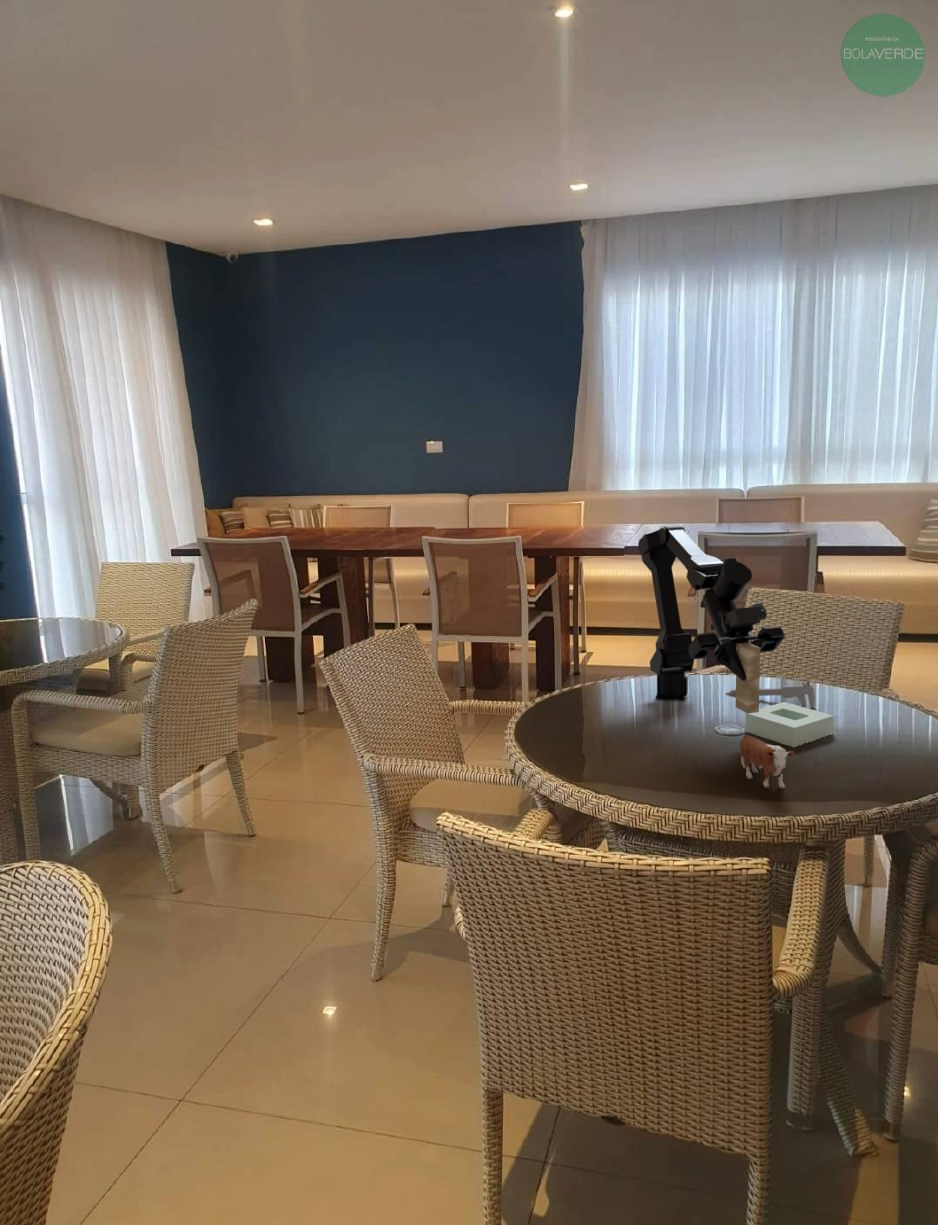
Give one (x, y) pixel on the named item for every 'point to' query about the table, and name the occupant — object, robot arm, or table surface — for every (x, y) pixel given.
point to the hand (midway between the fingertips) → (751, 679)
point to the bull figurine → (763, 758)
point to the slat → (748, 678)
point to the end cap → (789, 724)
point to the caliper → (789, 692)
